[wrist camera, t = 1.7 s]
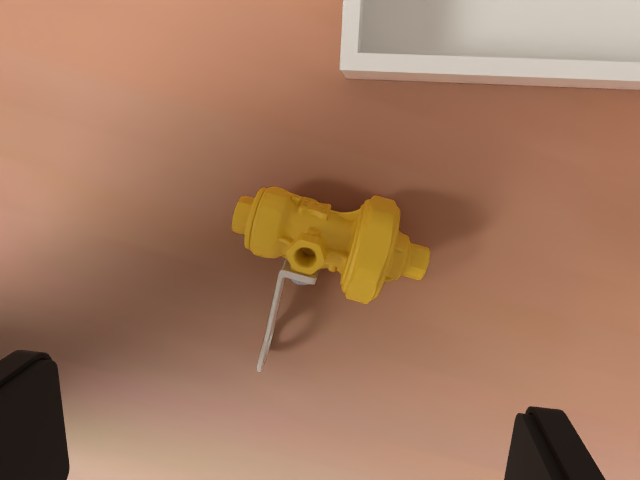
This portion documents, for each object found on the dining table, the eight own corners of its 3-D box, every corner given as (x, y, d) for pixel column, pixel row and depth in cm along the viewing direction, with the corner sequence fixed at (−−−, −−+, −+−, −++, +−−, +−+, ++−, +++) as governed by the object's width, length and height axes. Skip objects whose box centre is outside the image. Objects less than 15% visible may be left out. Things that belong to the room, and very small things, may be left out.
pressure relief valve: (259, 153, 26) (437, 201, 25) (229, 326, 31) (376, 367, 31) (227, 184, 21) (447, 244, 20) (197, 383, 26) (373, 433, 26)
